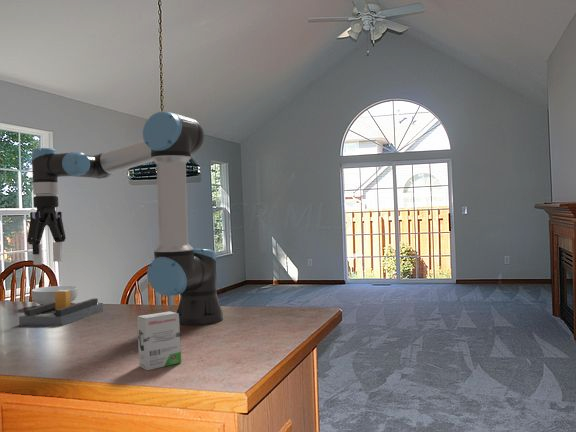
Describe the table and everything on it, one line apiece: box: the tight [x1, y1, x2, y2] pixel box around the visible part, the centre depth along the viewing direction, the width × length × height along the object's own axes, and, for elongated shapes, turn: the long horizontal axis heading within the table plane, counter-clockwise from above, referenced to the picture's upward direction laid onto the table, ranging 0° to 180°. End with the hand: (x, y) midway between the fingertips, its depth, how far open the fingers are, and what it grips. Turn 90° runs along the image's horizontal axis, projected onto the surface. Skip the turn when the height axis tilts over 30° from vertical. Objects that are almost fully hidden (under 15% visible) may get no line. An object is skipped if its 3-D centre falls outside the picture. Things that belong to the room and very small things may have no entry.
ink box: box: [136, 311, 182, 371], centre depth 127 cm, size 9×5×12 cm, turn 127°
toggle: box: [55, 290, 72, 309], centre depth 189 cm, size 4×3×6 cm
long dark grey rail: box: [56, 298, 99, 316], centre depth 188 cm, size 2×23×2 cm, turn 170°
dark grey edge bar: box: [24, 302, 55, 316], centre depth 190 cm, size 2×23×2 cm, turn 170°
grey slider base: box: [18, 301, 104, 327], centre depth 189 cm, size 15×26×4 cm, turn 170°
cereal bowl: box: [30, 285, 79, 306], centre depth 215 cm, size 17×17×7 cm
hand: (48, 262), depth 182 cm, fingers open, 10 cm apart
